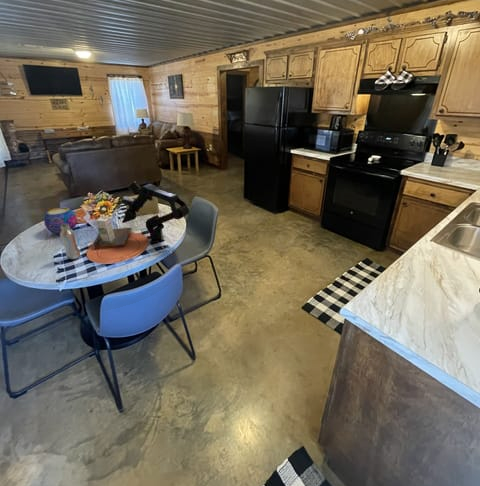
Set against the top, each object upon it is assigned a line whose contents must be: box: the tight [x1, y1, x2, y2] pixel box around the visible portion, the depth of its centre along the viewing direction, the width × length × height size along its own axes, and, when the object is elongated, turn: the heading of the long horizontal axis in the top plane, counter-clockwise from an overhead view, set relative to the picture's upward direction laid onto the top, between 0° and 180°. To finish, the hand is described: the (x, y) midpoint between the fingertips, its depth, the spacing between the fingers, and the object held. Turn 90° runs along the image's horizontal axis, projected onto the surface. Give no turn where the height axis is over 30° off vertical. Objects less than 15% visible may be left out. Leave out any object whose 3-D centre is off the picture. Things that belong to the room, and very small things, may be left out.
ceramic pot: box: [43, 206, 78, 235], centre depth 169 cm, size 18×18×15 cm
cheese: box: [125, 195, 160, 217], centre depth 195 cm, size 22×10×15 cm, turn 120°
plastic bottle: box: [59, 224, 81, 261], centre depth 140 cm, size 6×7×20 cm
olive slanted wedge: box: [92, 227, 132, 250], centre depth 162 cm, size 16×22×4 cm
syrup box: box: [95, 216, 115, 242], centre depth 156 cm, size 6×6×14 cm
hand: (124, 219), depth 157 cm, fingers open, 9 cm apart
